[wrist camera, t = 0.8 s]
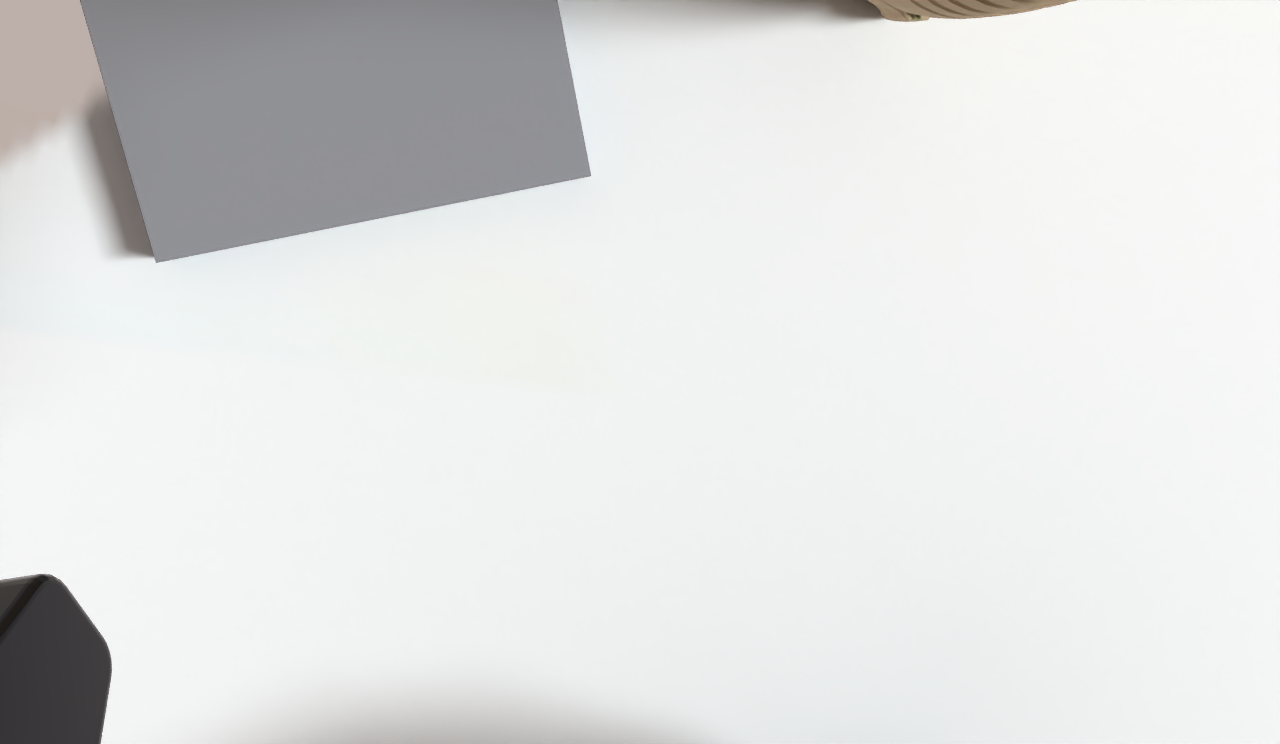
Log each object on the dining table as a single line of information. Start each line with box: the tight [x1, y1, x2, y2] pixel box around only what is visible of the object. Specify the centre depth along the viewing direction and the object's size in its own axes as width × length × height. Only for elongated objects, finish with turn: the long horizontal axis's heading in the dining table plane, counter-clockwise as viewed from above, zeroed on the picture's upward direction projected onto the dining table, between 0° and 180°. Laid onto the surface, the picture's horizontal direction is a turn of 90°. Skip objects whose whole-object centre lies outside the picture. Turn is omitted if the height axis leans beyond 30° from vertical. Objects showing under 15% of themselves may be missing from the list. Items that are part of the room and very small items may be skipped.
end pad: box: [80, 0, 591, 263], centre depth 20 cm, size 7×8×1 cm
